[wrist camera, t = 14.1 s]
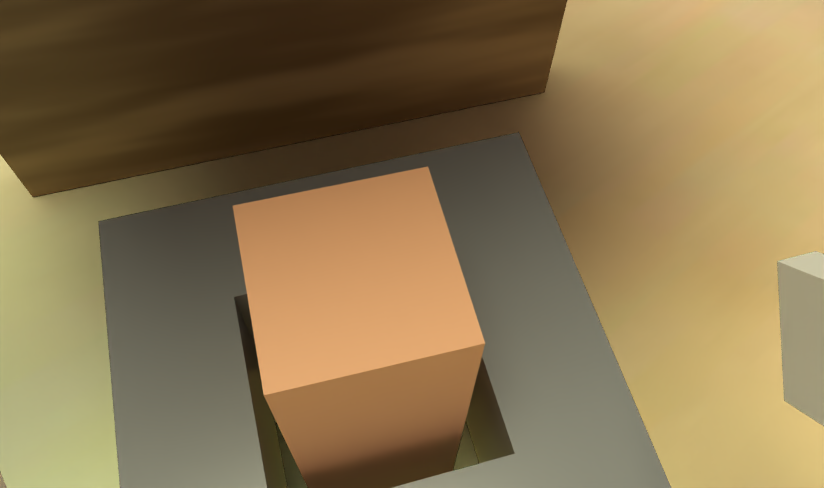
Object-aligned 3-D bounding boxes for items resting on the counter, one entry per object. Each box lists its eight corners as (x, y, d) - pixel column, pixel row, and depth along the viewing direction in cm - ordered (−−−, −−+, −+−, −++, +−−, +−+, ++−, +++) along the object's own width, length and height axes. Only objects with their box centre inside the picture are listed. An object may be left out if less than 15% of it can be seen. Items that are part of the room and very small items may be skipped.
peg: (449, 481, 25) (485, 343, 15) (320, 514, 25) (263, 395, 14) (417, 360, 28) (427, 166, 17) (297, 388, 27) (232, 205, 17)
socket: (635, 584, 24) (700, 557, 19) (200, 718, 22) (139, 730, 17) (498, 226, 30) (518, 132, 25) (153, 305, 28) (98, 221, 23)
